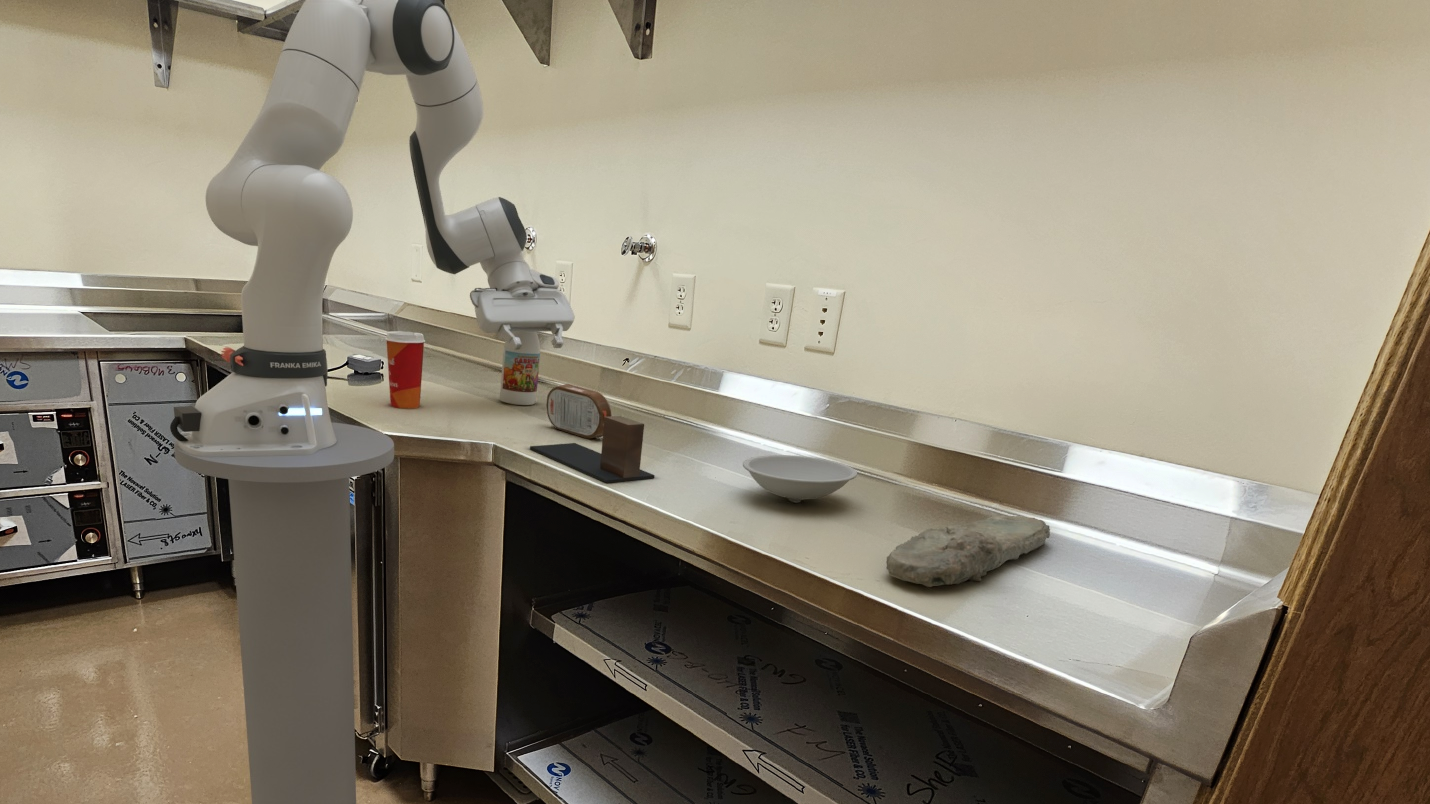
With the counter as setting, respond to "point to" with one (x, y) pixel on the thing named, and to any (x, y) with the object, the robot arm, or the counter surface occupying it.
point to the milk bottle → (520, 370)
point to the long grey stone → (965, 550)
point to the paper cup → (405, 368)
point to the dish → (798, 475)
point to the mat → (583, 461)
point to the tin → (577, 410)
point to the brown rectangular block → (622, 446)
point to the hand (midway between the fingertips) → (538, 347)
